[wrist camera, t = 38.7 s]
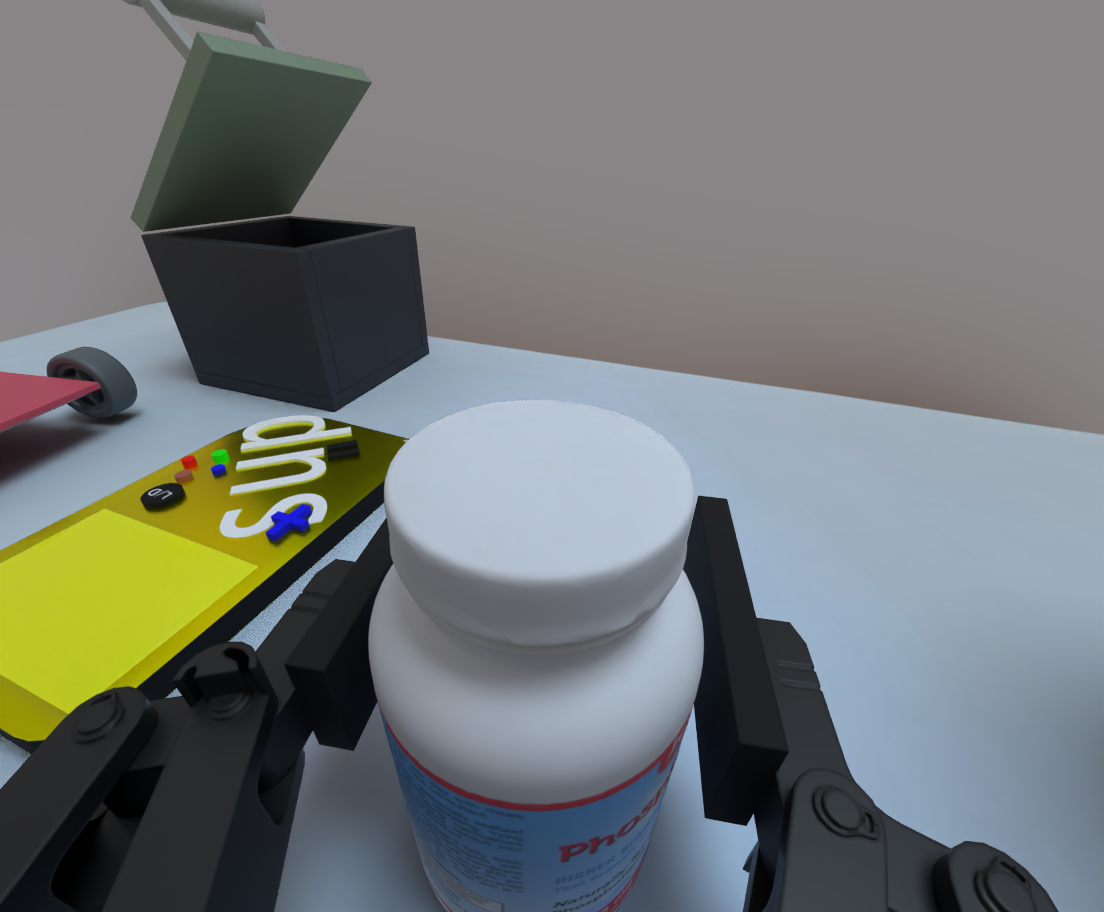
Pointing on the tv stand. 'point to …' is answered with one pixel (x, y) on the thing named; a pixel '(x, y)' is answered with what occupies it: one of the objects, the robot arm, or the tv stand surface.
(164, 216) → the box lid
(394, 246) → the black box
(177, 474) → the game console
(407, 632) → the pill bottle
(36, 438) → the tv stand surface
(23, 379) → the toy car
